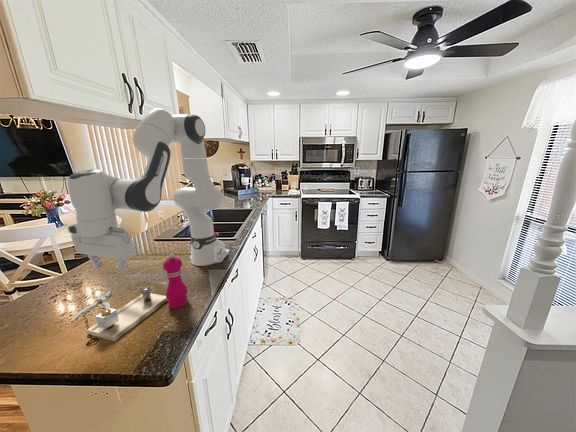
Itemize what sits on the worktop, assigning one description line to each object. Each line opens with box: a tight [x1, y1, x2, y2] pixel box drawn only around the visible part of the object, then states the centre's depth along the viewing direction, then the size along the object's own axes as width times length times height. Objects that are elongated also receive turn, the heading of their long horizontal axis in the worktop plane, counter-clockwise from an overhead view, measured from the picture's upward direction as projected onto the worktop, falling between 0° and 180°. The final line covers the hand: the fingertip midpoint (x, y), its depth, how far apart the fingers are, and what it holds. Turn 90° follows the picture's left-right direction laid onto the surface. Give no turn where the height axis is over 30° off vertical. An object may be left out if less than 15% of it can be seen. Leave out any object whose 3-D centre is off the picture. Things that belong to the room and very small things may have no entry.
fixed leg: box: [140, 286, 152, 301], centre depth 83 cm, size 3×3×5 cm
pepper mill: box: [163, 253, 189, 309], centre depth 82 cm, size 7×7×20 cm
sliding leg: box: [95, 307, 119, 329], centre depth 70 cm, size 4×3×5 cm
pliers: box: [70, 290, 112, 323], centre depth 84 cm, size 10×2×15 cm
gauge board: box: [86, 292, 169, 342], centre depth 78 cm, size 21×11×2 cm, turn 164°
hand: (110, 268), depth 70 cm, fingers open, 8 cm apart
